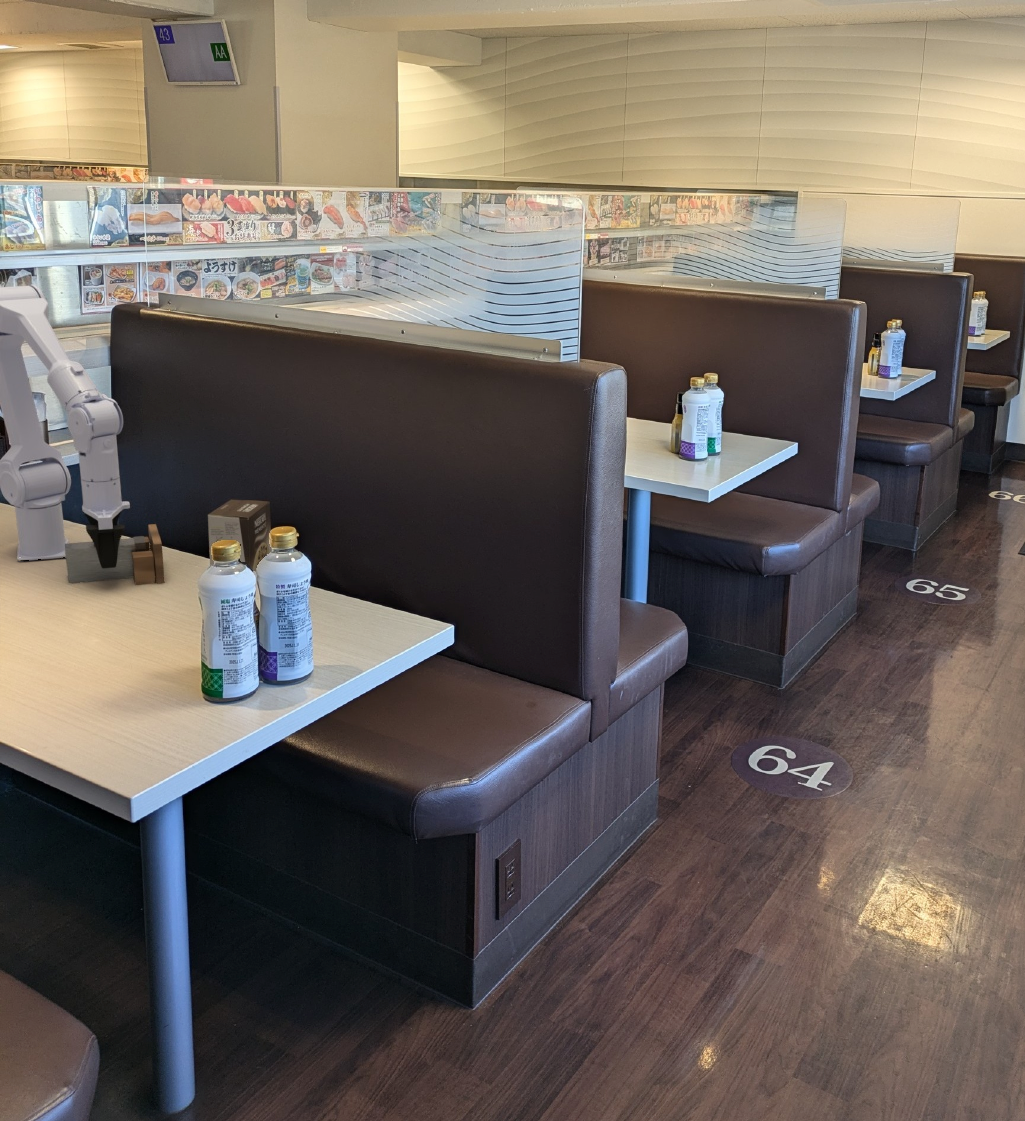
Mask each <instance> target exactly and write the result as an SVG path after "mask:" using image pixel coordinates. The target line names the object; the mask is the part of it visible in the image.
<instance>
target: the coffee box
mask: <svg viewBox="0 0 1025 1121" xmlns="http://www.w3.org/2000/svg"><path fill="white" fill-rule="evenodd" d="M270 506H271V503H270V501H267V500H266V501H265V500H264V501H263V500H253V499H252V500H249V499H246V500H245V499H243V500H241V499H230V500H228V501H226V502H225V503H224V504H222V505H220V506H219V507H217V508H216V509H214V510H213V511H212V512H209V513H208V514H207V522H208V523H207V526H208V527H207V528H208V529H207V531H208V547H209V567H210V566H211V565H213V564H214V561H213V560H212V555H211V546H212V544H213V543H215V542H217V541H221V540H236V541H238V542H239V543H240V544H241V555H240V561H241V562H247V563H248V565H249V566H250V568H251V569H252V570H253V571H256V568H257V565H258V564H259V562H260V561H261V560H262V559H263V558H264V557H265V556H267V554H269V553H270V552H271V553H272V546H271V547H270V544H269V533H270V531H271V528H272V527H271V508H270ZM271 532H272V531H271Z"/></svg>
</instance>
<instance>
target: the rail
mask: <svg viewBox="0 0 1025 1121" xmlns="http://www.w3.org/2000/svg"><path fill="white" fill-rule="evenodd" d="M144 537H145V536H144V535H140V536H133V537H131V538H130V537H129V538H121V539H120V542H119V547H118V557H117V564H116V567H115V568H104V569H103V568H102V567H101V565H100V562H99V558H98V554H97V551H96V548H95V545H94V543H93V541H92V540H91V541H81V542H80V541H79V542H71V543H70V542H68V543H67V544H65V554H66V557H65V563H66V572H67V581H68V583H72V584H80V582H83V583H91V582H93V583H94V582H101V581H102V582H104V581H115V580H127V579H134V569H133V557H132V552H142V551H146V544H145V539H144ZM68 583H67V584H68Z"/></svg>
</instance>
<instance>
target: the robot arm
mask: <svg viewBox="0 0 1025 1121" xmlns="http://www.w3.org/2000/svg"><path fill="white" fill-rule="evenodd" d="M49 309H50V308H49V303H48V301H47V300H46V297H45V295H44V292H42V290H41V288H39V286H37V285H35V284H26V285H18V286H2V287H1V286H0V408H1V409H0V410H1V413H2V417H3V421H4V426H5V428H6V433H7V437H8V440H9V444H10V447H9V449H8V451H7V452H6V453H5V454H4V455H3V456H2V457H1V459H0V492H1V493H2V494H1V495H3V497H4V499H5V500H6V501H7V502H8V503H9V505H10V506H14V509H15V510H14V511H15V518H16V520H15V521H16V527H17V535H18V537H17V538H18V543H19V545H18V544H17V554H16V560H29V561H38V559H41V560H50V559H51V560H52V559H60V558H61V559H64V558H63V557H65V558H66V554H65V544H67V543H69V539H68V538H66V537H65V536H66V535H65V528H64V527H65V526H64V515H63V506H62V502H63V501H66V495H67V494H68V493H69V491H70V490H71V486H72V485H71V484H72V479H71V478H72V477H71V474H70V471H69V468H68V467H67V465H66V464H65V462H64V459H63V457H62V453H61V451H60V450H59V449H57V448H56V447H53V445H51V444H49V443H47V442H45V440H44V435H43V431H42V428H41V424H40V418H39V415H38V412H37V406H36V403H35V400H34V396H33V392H32V388H31V385H30V380H29V375H28V373H27V368H26V364H25V360H24V355H23V353H22V346H23V344H24V342H26V343H27V345H28V346H29V347H30V349H31V351H33V352H34V354H35V355H36V356H37V357H38V359H39V360H40V361H41V363H42V364H43V365H44V366H45V368H46V369H47V370H48V375H47V379H46V380H47V384H48V385H49V387H50V388H51V390H52V391H53V393H54V394H55V396H56V397H57V399H58V400H59V403H60V404H61V405H62V407H63V408H64V409H65V412H66V413H67V414H68V416H67V419H66V424H67V428H68V432H70V435H71V437H72V440H73V447H74V449H75V451H77V452H78V464H79V471H80V484H81V485H80V486H81V494H82V506H81V508H82V512H84V513H83V514H84V516H85V517H86V519H87V521H88V522H89V524H88V525H85V530H86V533H87V535H88V536H89V537H90V538H91V542H92V541H93V543H94V545H95V548H96V551H97V554H98V558H99V562H100V565H101V567H102V568H103V569H104V568H115V567H116V564H117V557H118V547H119V542H120V539H122V536H123V534H124V532H125V529H126V527H125V524H118V521H119V517H120V515H121V513H122V511H123V510H125V509H130V508H131V506H130V505H131V504H130V501H128V500H127V501H124V500H123V499H122V492H121V491H122V490H121V489H122V487H121V479H120V478H121V477H120V467H119V466H120V465H119V464H120V463H119V456H118V455H119V454H118V453H119V452H118V444H117V443H118V442H117V435H119V434H121V432H122V430H123V427H124V415H123V412H122V409H121V408H120V406H119V405H118V404H119V403H118V402H117V401H116V400H115V399H113V398H110V397H108V396H107V395H106V394H104V393H100V391H99V389H98V388H97V386H96V384H95V383H94V382H93V379H91V377H90V376H89V374H88V373H87V371H86V370H85V368H84V367H83V365H82V364H81V363H80V362H78V361H74V360H70V358H69V356H68V354H67V353H66V351H65V349H64V347H63V345H62V344H61V342H60V340H59V338H58V337H57V334H56V333H55V330H54V329H53V327H52V325H51V322H50V321H49V316H50V315H49V311H50V310H49ZM32 461H40V462H36V463H30V464H25V465H22V464H24V463H27V462H28V463H29V462H32ZM122 500H123V501H122ZM19 557H21V558H19Z"/></svg>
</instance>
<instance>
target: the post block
mask: <svg viewBox="0 0 1025 1121" xmlns="http://www.w3.org/2000/svg"><path fill="white" fill-rule="evenodd" d="M147 528H148V536H144V539H145V544H146V551H142V552H132V557H133V569H134V578H133V579H134V583H135V584H134V585H146V584H164V583H165V581H166V580H165V570H164V569H165V568H164V556H163V555H164V554H163V553H164V552H163V544H162V540H161V536H160V533H159V530H158V527H157V524H156V523H155V524H153V523H152V524H151V523H150V524H148V525H147Z"/></svg>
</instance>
